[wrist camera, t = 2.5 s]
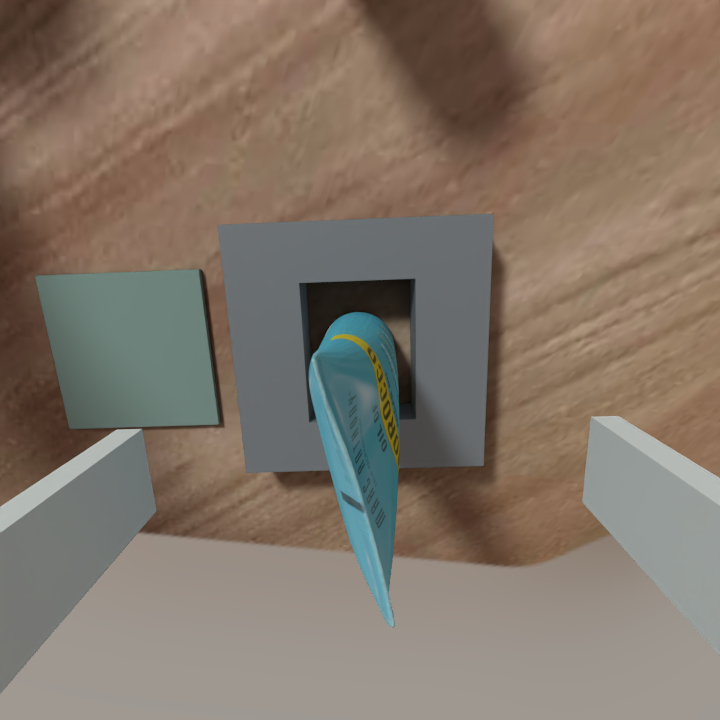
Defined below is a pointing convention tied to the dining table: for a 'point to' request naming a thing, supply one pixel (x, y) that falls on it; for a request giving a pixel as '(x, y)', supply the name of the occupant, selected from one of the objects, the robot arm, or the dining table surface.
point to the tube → (361, 438)
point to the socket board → (427, 330)
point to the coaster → (131, 348)
